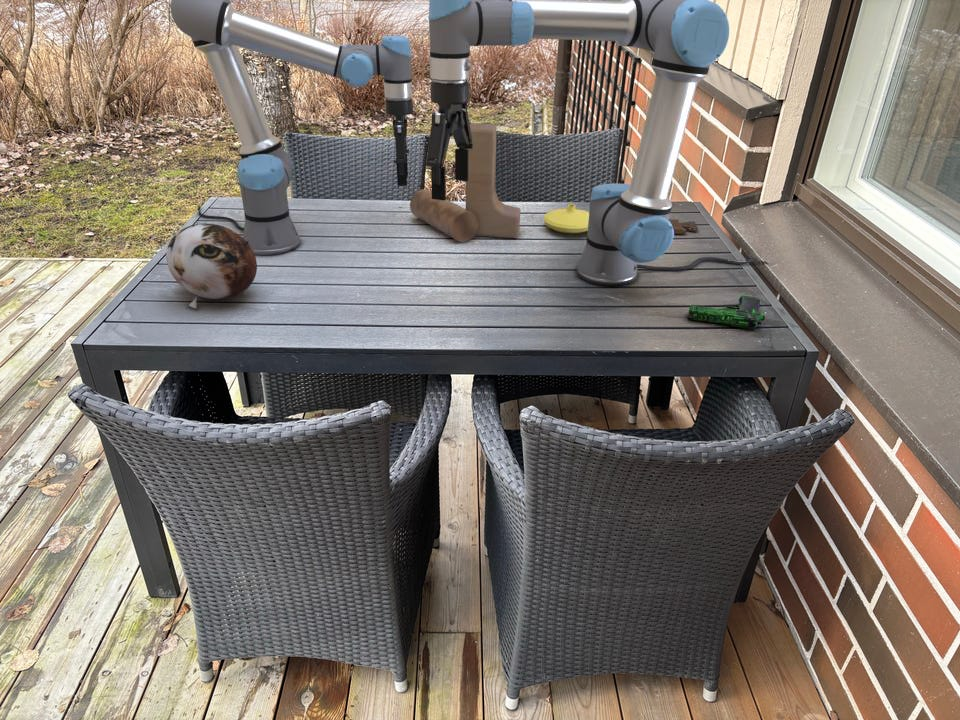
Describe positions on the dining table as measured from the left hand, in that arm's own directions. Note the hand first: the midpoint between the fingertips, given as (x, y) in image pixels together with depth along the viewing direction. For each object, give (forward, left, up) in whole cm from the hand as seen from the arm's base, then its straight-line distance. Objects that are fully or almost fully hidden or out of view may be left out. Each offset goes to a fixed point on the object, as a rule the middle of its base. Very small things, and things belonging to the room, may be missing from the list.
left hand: (402, 180), depth 206 cm
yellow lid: (+42, +25, -13) cm, 51 cm away
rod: (+10, +1, -12) cm, 16 cm away
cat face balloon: (-6, -64, -13) cm, 65 cm away
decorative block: (+25, +9, -13) cm, 30 cm away
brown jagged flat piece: (+62, +40, -13) cm, 75 cm away
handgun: (+97, -4, -13) cm, 98 cm away
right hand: (+45, -40, +16) cm, 63 cm away
